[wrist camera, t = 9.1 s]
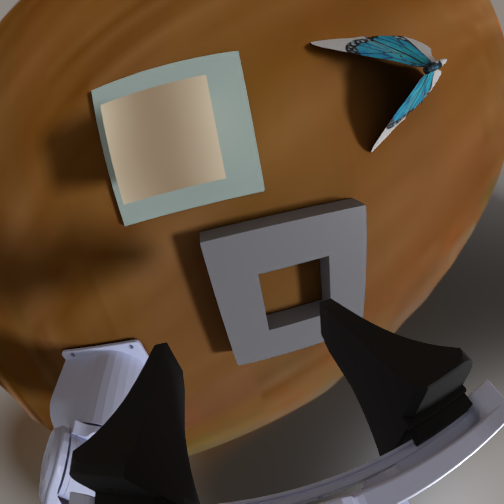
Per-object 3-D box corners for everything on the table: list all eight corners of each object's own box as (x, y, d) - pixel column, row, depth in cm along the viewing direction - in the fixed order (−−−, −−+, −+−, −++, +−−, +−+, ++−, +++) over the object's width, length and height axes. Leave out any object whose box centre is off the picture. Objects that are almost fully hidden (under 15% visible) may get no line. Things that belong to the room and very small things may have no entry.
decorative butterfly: (473, 110, 15) (436, 157, 13) (419, 112, 21) (368, 155, 19) (425, 4, 11) (366, 8, 9) (374, 23, 16) (305, 42, 15)
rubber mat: (126, 223, 18) (124, 226, 18) (93, 91, 14) (91, 90, 13) (263, 189, 19) (264, 190, 18) (237, 52, 14) (238, 50, 14)
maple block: (151, 178, 17) (123, 204, 10) (137, 115, 15) (100, 105, 8) (216, 162, 17) (226, 178, 11) (204, 98, 15) (206, 74, 9)
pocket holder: (234, 350, 24) (237, 365, 23) (199, 232, 19) (199, 242, 17) (352, 315, 26) (361, 328, 24) (352, 198, 20) (366, 204, 19)
